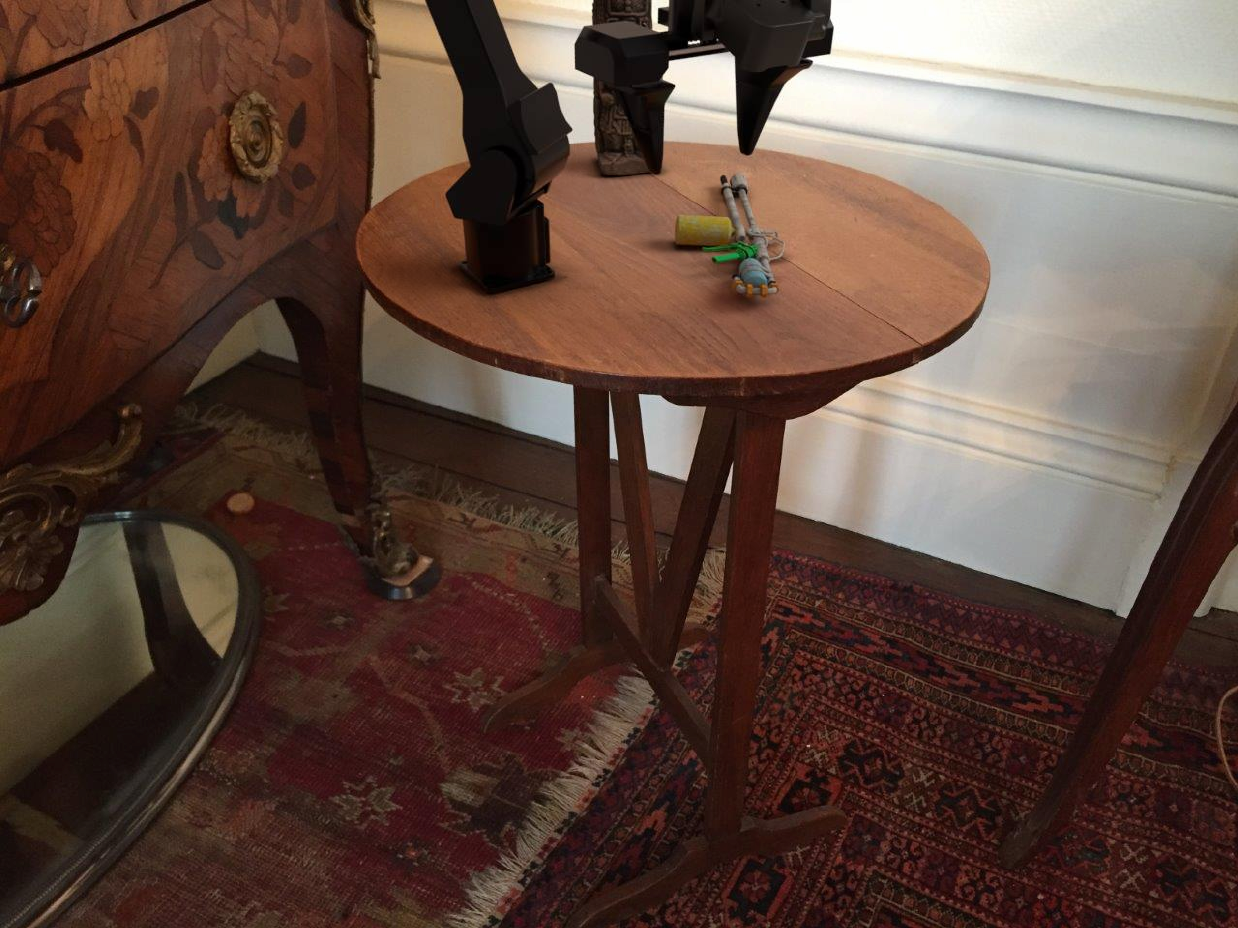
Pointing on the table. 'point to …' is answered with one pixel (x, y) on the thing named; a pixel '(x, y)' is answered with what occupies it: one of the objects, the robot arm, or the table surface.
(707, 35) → the robot arm
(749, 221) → the flamethrower
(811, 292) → the table surface
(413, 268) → the table surface
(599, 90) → the statue
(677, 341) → the table surface
